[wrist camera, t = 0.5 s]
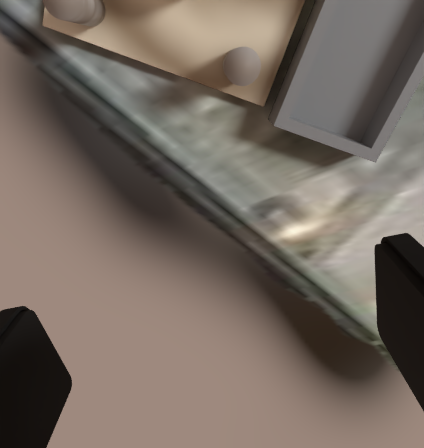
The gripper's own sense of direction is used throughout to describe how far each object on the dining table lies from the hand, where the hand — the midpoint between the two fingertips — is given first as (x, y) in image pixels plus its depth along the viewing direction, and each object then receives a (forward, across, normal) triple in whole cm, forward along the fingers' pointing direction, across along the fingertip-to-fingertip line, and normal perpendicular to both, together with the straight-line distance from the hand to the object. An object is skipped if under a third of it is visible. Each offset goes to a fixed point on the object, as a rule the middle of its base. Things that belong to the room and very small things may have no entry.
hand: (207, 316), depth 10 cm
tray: (+27, -14, -4) cm, 31 cm away
